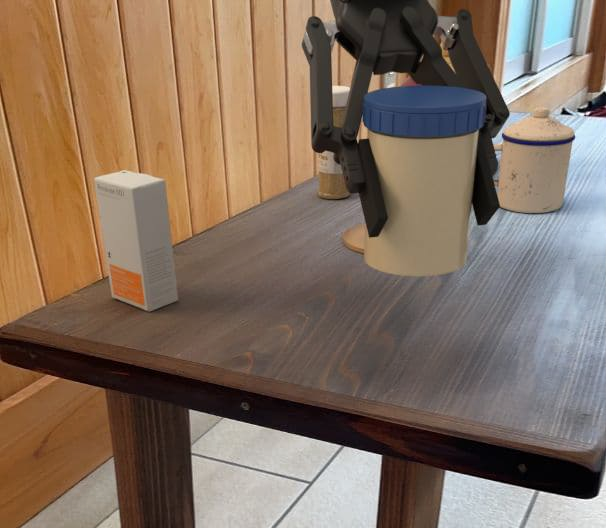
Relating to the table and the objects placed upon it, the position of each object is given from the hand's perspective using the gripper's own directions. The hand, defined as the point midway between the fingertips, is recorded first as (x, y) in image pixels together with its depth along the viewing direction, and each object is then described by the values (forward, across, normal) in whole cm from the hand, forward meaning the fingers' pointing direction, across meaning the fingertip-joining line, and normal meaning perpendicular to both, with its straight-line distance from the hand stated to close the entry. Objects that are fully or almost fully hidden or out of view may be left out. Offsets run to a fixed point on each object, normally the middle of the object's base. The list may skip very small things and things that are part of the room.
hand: (434, 221), depth 65 cm
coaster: (-16, -11, -34) cm, 39 cm away
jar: (0, 0, -5) cm, 5 cm away
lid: (-8, 0, +3) cm, 8 cm away
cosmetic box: (-8, +20, -27) cm, 35 cm away
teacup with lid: (-21, -32, -40) cm, 55 cm away
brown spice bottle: (-30, -10, -49) cm, 58 cm away
